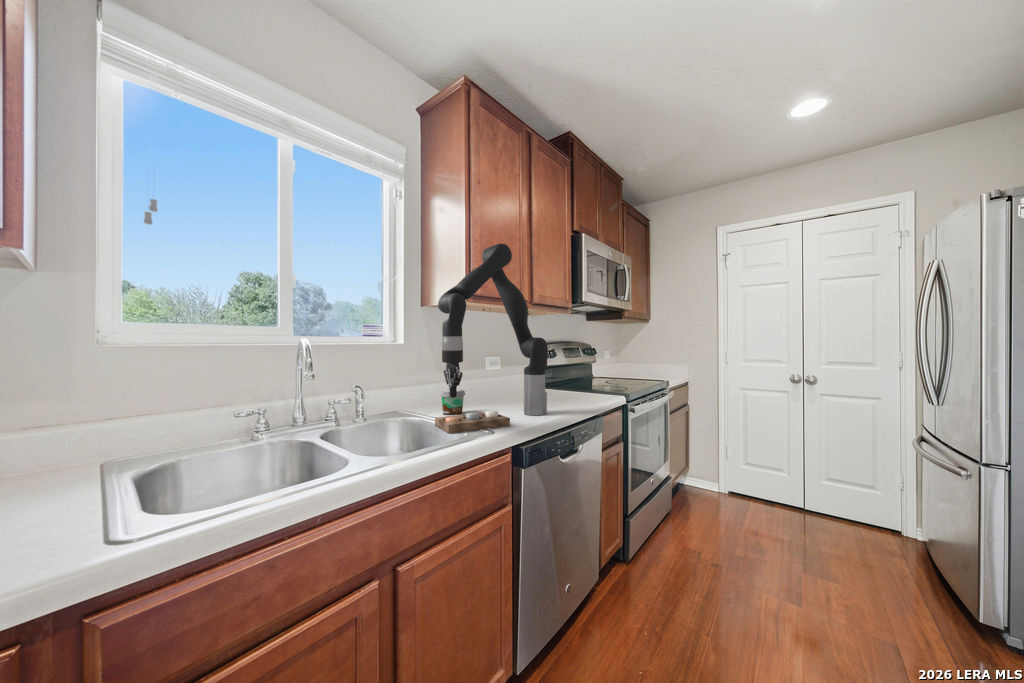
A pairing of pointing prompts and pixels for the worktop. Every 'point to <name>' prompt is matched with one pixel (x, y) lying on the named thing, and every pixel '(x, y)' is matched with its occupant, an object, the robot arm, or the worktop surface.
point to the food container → (452, 403)
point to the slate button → (472, 416)
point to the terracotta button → (451, 419)
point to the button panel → (471, 423)
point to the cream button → (491, 414)
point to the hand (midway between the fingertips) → (452, 397)
